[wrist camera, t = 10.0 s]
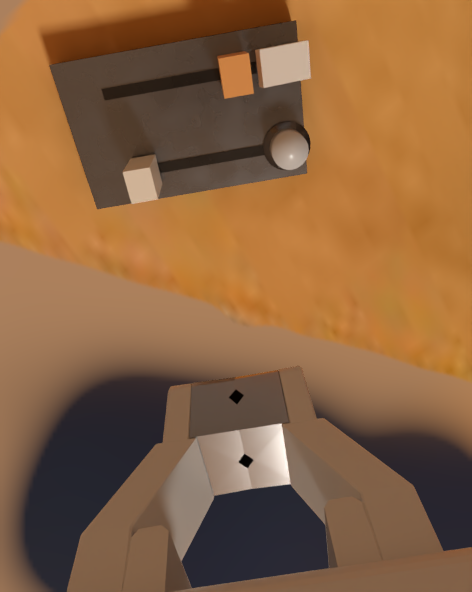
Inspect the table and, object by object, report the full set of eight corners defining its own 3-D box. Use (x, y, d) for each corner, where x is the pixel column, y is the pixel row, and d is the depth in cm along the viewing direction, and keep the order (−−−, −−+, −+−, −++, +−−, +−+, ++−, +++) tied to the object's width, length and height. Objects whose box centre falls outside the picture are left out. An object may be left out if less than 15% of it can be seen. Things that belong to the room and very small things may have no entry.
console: (296, 20, 33) (303, 19, 31) (307, 166, 39) (313, 174, 36) (57, 63, 34) (46, 65, 31) (102, 201, 39) (95, 211, 37)
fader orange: (244, 51, 32) (248, 53, 28) (248, 87, 33) (253, 93, 30) (216, 56, 32) (218, 58, 28) (222, 91, 33) (224, 98, 30)
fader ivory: (155, 154, 35) (149, 167, 32) (162, 183, 36) (157, 199, 33) (130, 158, 35) (122, 172, 32) (138, 187, 36) (131, 203, 33)
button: (302, 125, 35) (307, 129, 33) (305, 161, 36) (309, 166, 35) (267, 131, 35) (270, 136, 33) (271, 166, 36) (274, 172, 35)
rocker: (302, 40, 31) (308, 40, 31) (305, 77, 33) (310, 78, 32) (254, 49, 31) (259, 49, 30) (259, 87, 32) (263, 88, 31)
